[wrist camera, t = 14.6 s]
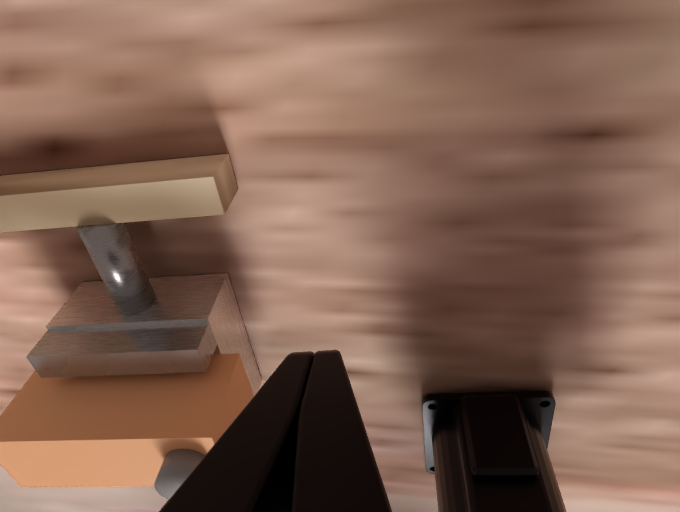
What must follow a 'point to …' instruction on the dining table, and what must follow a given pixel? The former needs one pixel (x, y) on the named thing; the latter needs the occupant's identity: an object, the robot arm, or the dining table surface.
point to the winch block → (141, 319)
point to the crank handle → (120, 426)
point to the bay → (117, 193)
